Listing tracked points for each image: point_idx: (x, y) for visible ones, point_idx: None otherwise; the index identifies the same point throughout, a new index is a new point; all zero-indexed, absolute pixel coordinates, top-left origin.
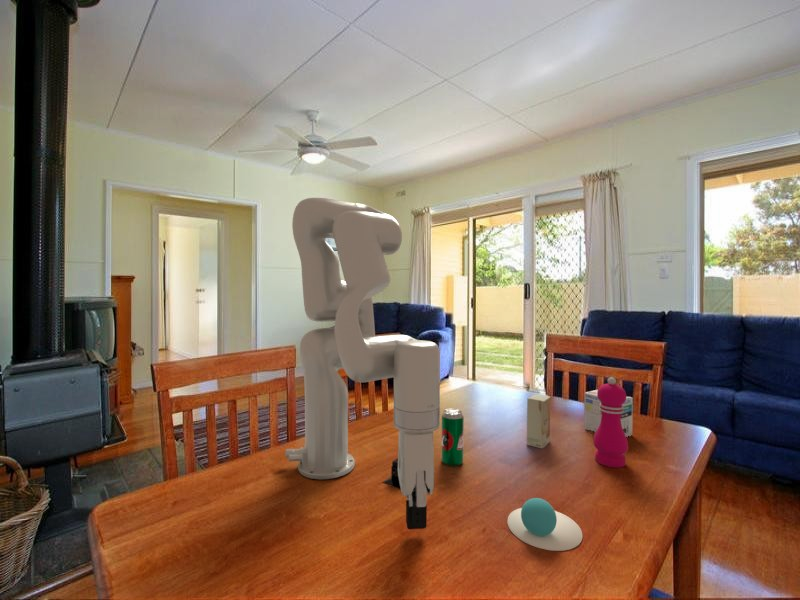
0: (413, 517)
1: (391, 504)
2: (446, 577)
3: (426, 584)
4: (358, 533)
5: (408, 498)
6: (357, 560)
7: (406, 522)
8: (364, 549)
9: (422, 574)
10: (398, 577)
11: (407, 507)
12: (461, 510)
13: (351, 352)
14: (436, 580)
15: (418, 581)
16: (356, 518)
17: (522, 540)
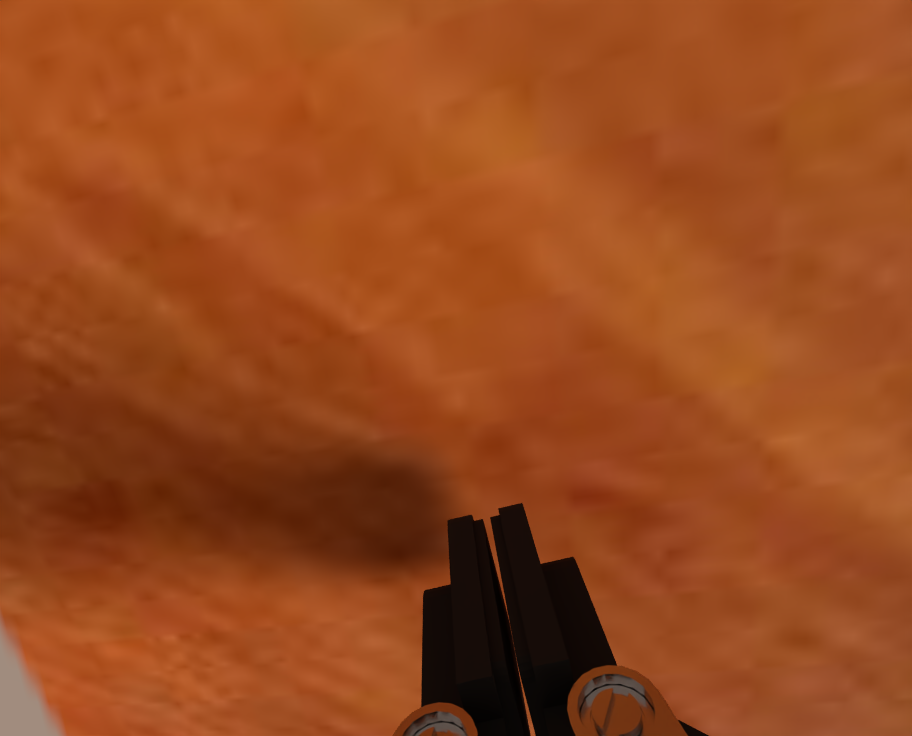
0: (424, 647)
1: (878, 298)
2: (156, 697)
3: (66, 620)
4: (447, 87)
5: (569, 704)
6: (111, 168)
7: (497, 516)
8: (253, 195)
9: (135, 595)
10: (57, 479)
11: (457, 663)
12: (761, 730)
13: None
14: (116, 659)
15: (71, 582)
16: (673, 3)
17: None
